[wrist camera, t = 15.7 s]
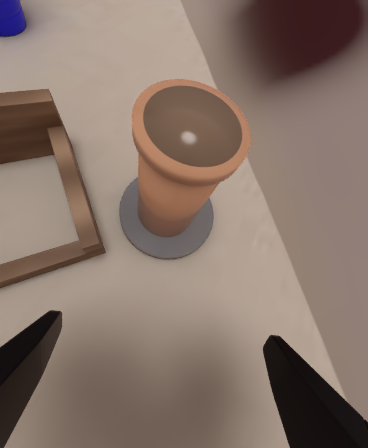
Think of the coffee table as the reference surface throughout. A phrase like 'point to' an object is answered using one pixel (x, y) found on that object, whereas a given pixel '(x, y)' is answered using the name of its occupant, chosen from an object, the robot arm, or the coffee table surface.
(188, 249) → the saucer
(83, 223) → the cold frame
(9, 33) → the hyacinth
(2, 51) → the coffee table surface
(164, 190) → the pot
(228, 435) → the coffee table surface
